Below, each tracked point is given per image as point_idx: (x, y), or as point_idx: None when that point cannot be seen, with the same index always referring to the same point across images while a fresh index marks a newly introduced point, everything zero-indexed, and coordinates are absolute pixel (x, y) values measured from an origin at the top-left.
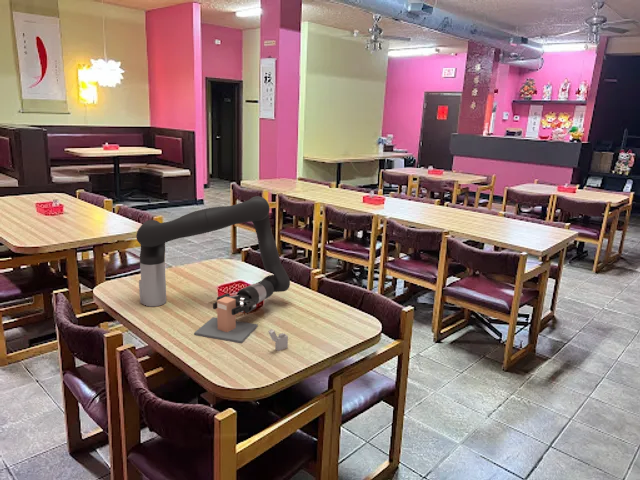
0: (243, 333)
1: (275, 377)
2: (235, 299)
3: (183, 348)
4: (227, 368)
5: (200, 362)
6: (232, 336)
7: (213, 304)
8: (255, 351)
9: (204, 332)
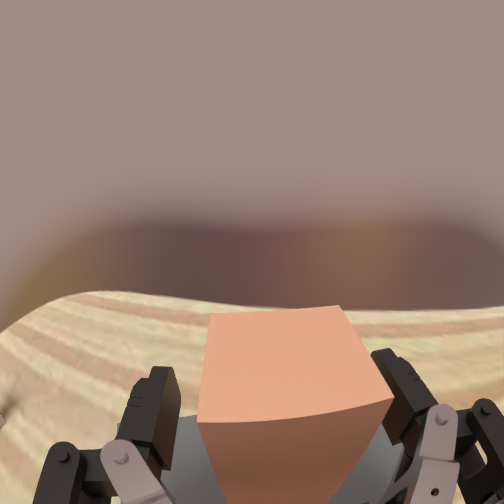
0: None
1: (14, 328)
2: (197, 422)
3: None
4: (109, 320)
5: (183, 312)
6: (179, 441)
7: (381, 351)
8: (58, 397)
9: None
